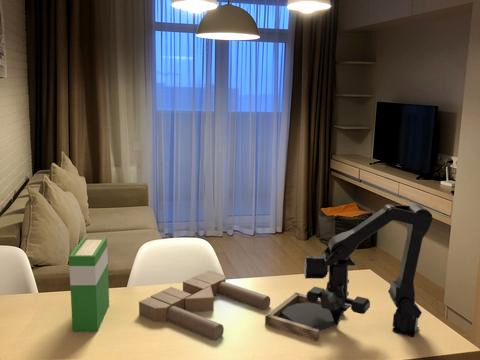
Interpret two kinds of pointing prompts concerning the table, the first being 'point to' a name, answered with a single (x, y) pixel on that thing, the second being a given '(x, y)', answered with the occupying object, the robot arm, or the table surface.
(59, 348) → the table surface
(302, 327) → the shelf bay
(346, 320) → the table surface
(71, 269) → the hardback book
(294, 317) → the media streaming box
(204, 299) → the wooden block construction
